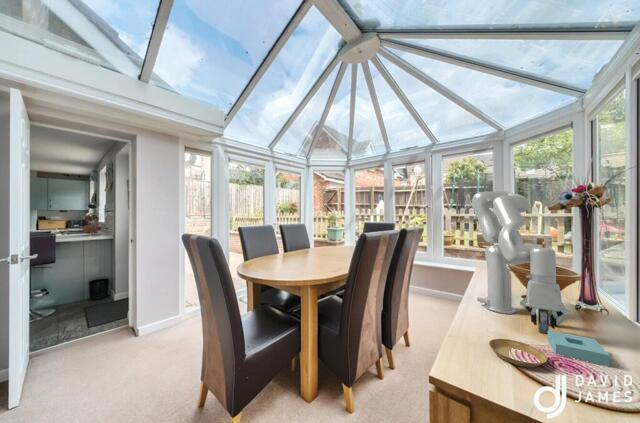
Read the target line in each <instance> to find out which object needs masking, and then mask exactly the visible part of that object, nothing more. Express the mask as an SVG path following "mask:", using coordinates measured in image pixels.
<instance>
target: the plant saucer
mask: <svg viewBox="0 0 640 423" xmlns="http://www.w3.org/2000/svg"><path fill="white" fill-rule="evenodd" d="M488 346H489V347H490V348H491V351H493V352H494V354H496V356H497V357H499V358H501V359H502V360H504V361H505V362H507V363H510V364H512V365H516V366H519V367H523V366H524V367H525V368H536V367H539V366H541V365H543V364H546V362H547V361H548V356H547V355H546V354H545V353H544V352H543V351H542V350H540V349H538V348H536V347H534V346H533V345H530V344H528V343H525V342H521V341H519V340H512V339H507V338H494V339H491V340H489V342H488ZM512 348H513V349H518V350H521V351H524V352H526V353H528V354H531V355H533V356H535V357H536V358H537V359H538V360H539V361H540V362H539V363H529V362H524V361H519V360H515V359H512V358H511V357H510V356H509V351H511V349H512Z"/></svg>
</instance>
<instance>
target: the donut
mask: <svg viewBox="0 0 640 423" xmlns="http://www.w3.org/2000/svg"><path fill="white" fill-rule="evenodd" d="M556 312H557V311H556ZM535 313H536V316H537V318H538V308H537V309H536V312H535ZM566 318H567V313H565V314H563V315H561V316H559V317H558V318H557V319H556V320H557V326H559V325H562V324H563V323H564V322H565V320H566ZM549 326H550V316H549Z"/></svg>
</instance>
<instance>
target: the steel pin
mask: <svg viewBox="0 0 640 423" xmlns="http://www.w3.org/2000/svg"><path fill="white" fill-rule="evenodd" d="M549 317H550V316H549V310H544V309H538V317H537V321H538V322H537V323H538V324H537V326H538V333H540V334H542V335H548V333H547V330H549V331H550V328H549V327H550V325H549Z"/></svg>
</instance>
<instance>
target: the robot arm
mask: <svg viewBox="0 0 640 423" xmlns="http://www.w3.org/2000/svg"><path fill="white" fill-rule="evenodd" d="M471 207H472V211H473V212H474V214H475V216H476V218H477V220H478V224H479V227H480V230H481V233H482V237H483V240H484V241H485V242H487V243H489V244H492V245H489V246H487V247H486V248H485V250H484V257H485V262H486V268H487V296H486V297H485V298H483V297H477V298H476V300H477V302H479V303H481V304H483V307H484V308H485V309H486V310H489V311H490V312H491V311H492V312H494V313H498V314H499V313H500V314H505V315H507V314H509V315H512V314H513V315H514V314H516V313H517V310H516V308H515V307H513V306H512V303H513V302H512V273H511V271H510V270H509V267H508V265H510V266H511V265H512V266H513V265H518V266H519V265H523V264H525V263H526V264H529V266H530V267H529V268H530V270H529V271H530V272H529V274H527V273H526V274H525V278H527V279H529V280H528V281H527V284H526V295H525V297H524V298H523V299H522V300H521V301H520V302H519V305H520V306H522V307H523V308H524V309H525V310H526V311H528V312H529V313H530V320H531V323H532V324H533V325H534V326H538V324H537V323H538V322H537V321H538V317H537V315H536V309H537V308H538V309H544V310H548V311H550V313H551V314H550V316H549V317H550V325H549V327H551V329H556V328H555V327H557V326H558V325H557V320H556V319H557V318H558V317H559V316H561V315H563V314H565V313H566V314H567V313H568V314H569V312H570V311H569V309H568V308H567V307H566V306H565V305H564V303H563V301H562V292H561V286H560V285H559V284H558V283H557V268H556V266H557V263H556V260H557V259H556V257H557V256H556V250H555V249H553V248H549V247H542V246H539V245H538V246H537V245H534V244H524V239H523V237H522V235H521V233H520V230H519V229H521V228H522V227H524V225H525V223H526V222H525V219H524V217H523V216H522V214H523V213H525V212H527V211H528V210H529V208H530V202H529V200H528V198H527V197H526V196H524V195H521V194H518V193H514V192H509V191H497V190H496V191H493V190H492V191H491V190H490V191H489V190H488V191H487V190H486V191H480V192H479V191H478V192H476V193H475V194H474V195H473V197H472V199H471ZM490 208H493V209H494V211H495V212H494V211H493V210H491V209H490ZM556 311H557V312H556Z"/></svg>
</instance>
